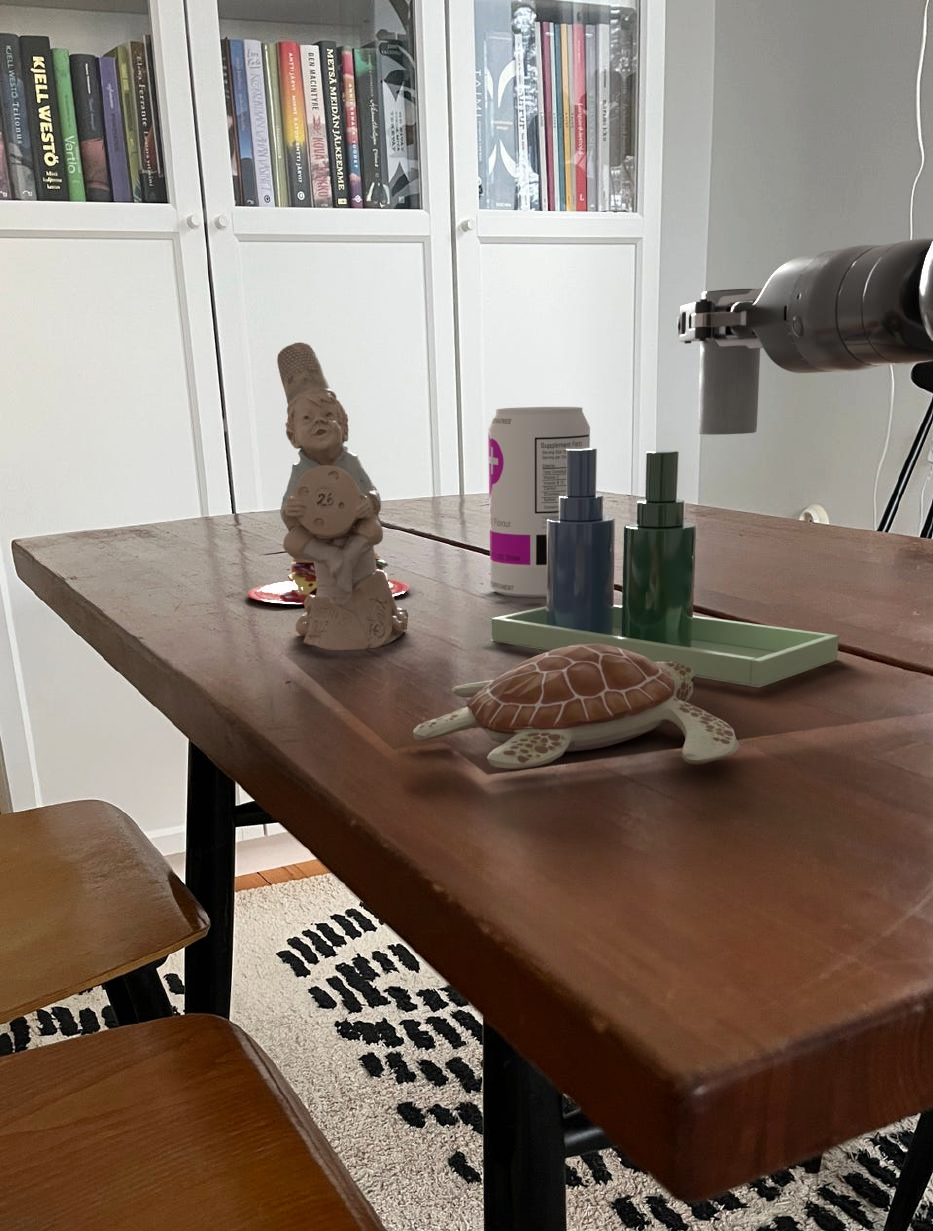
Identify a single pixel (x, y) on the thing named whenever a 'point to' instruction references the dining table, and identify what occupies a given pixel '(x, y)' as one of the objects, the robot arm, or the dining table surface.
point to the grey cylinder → (727, 383)
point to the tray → (714, 651)
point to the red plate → (307, 584)
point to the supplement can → (527, 490)
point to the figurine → (333, 517)
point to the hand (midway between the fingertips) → (713, 325)
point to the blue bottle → (581, 552)
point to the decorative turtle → (583, 707)
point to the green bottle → (659, 560)
